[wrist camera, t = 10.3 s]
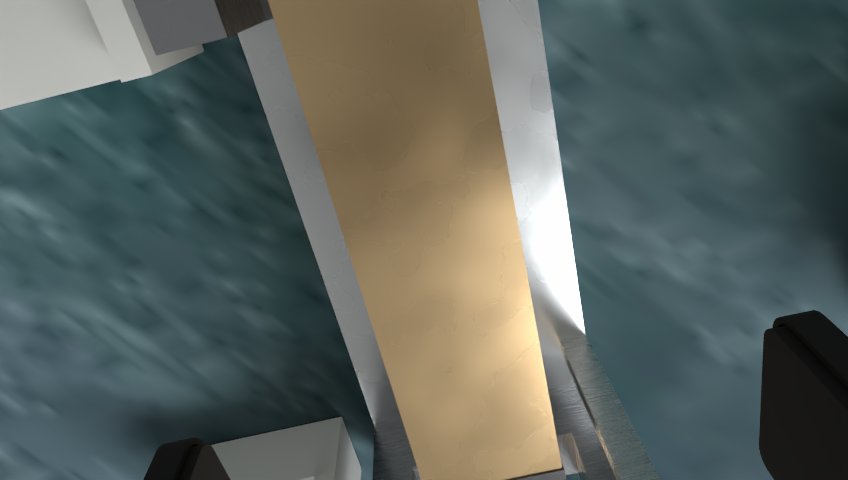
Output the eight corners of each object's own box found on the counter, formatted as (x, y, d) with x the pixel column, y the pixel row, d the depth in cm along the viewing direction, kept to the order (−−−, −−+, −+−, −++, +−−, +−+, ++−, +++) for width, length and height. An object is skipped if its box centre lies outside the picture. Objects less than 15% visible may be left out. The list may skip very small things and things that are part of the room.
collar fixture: (201, -84, 17) (25, -129, 9) (510, -167, 17) (620, -293, 8) (393, 470, 26) (392, 699, 18) (596, 428, 26) (689, 643, 18)
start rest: (-40, 1, 18) (-166, 11, 14) (165, -54, 17) (97, -59, 13) (221, 498, 26) (190, 593, 22) (361, 468, 26) (355, 559, 22)
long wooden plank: (257, -139, 14) (208, -176, 10) (426, -185, 14) (437, -239, 10) (456, 526, 24) (467, 630, 20) (558, 505, 23) (589, 607, 20)
